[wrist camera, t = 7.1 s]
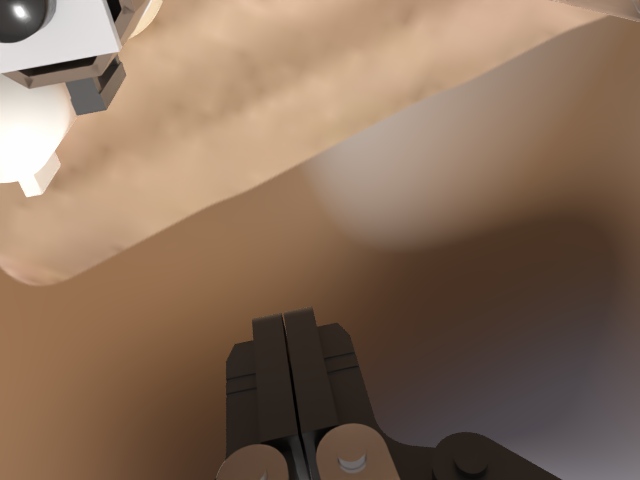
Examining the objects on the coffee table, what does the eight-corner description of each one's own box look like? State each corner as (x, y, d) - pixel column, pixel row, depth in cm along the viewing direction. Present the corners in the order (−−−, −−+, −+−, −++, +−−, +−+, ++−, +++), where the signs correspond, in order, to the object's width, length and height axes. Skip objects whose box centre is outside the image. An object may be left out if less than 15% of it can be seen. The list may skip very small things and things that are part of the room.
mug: (57, 30, 41) (21, 56, 33) (104, 149, 46) (82, 194, 38) (-48, 50, 40) (-109, 80, 32) (12, 167, 45) (-28, 217, 38)
